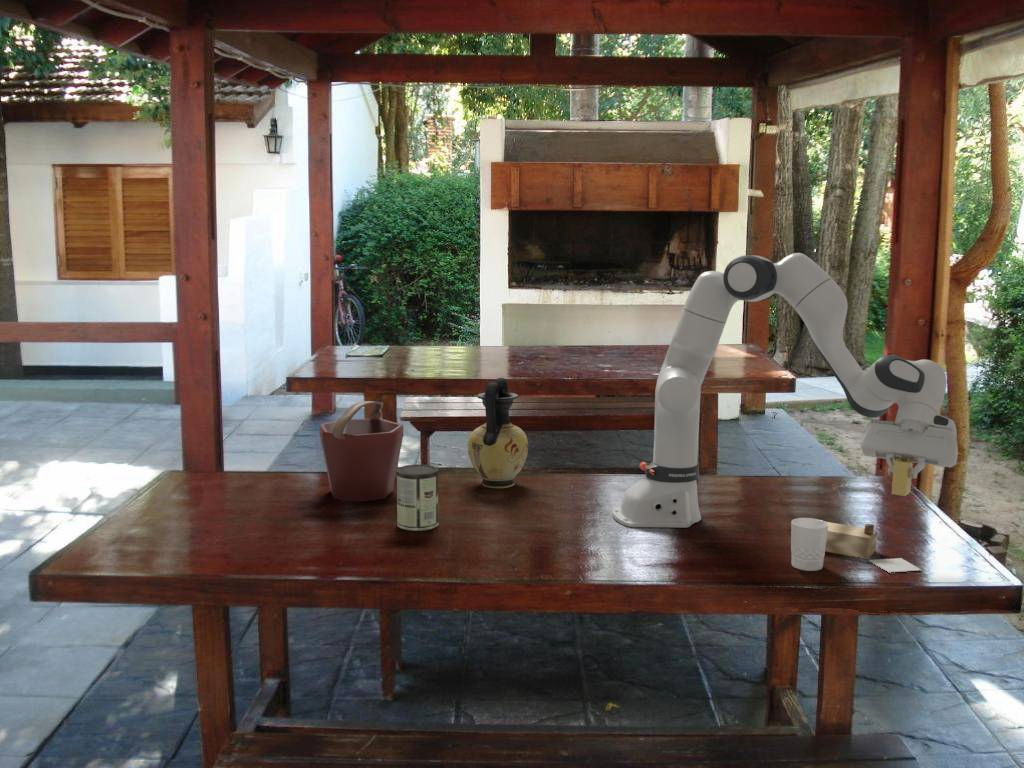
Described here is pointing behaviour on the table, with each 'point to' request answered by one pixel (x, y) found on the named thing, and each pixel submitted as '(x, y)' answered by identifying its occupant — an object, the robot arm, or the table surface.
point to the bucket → (361, 454)
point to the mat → (894, 565)
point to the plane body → (851, 540)
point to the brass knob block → (901, 476)
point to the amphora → (497, 439)
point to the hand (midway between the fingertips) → (901, 475)
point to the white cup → (808, 543)
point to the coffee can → (417, 497)
